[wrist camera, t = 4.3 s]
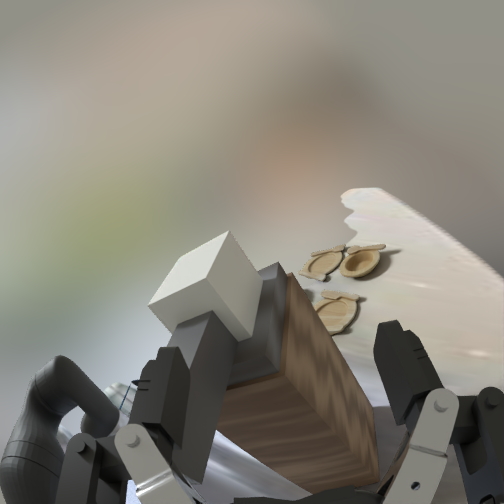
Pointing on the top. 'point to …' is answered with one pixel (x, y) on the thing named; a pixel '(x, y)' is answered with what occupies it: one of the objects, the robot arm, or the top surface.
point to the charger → (207, 334)
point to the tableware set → (354, 265)
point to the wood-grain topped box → (298, 395)
